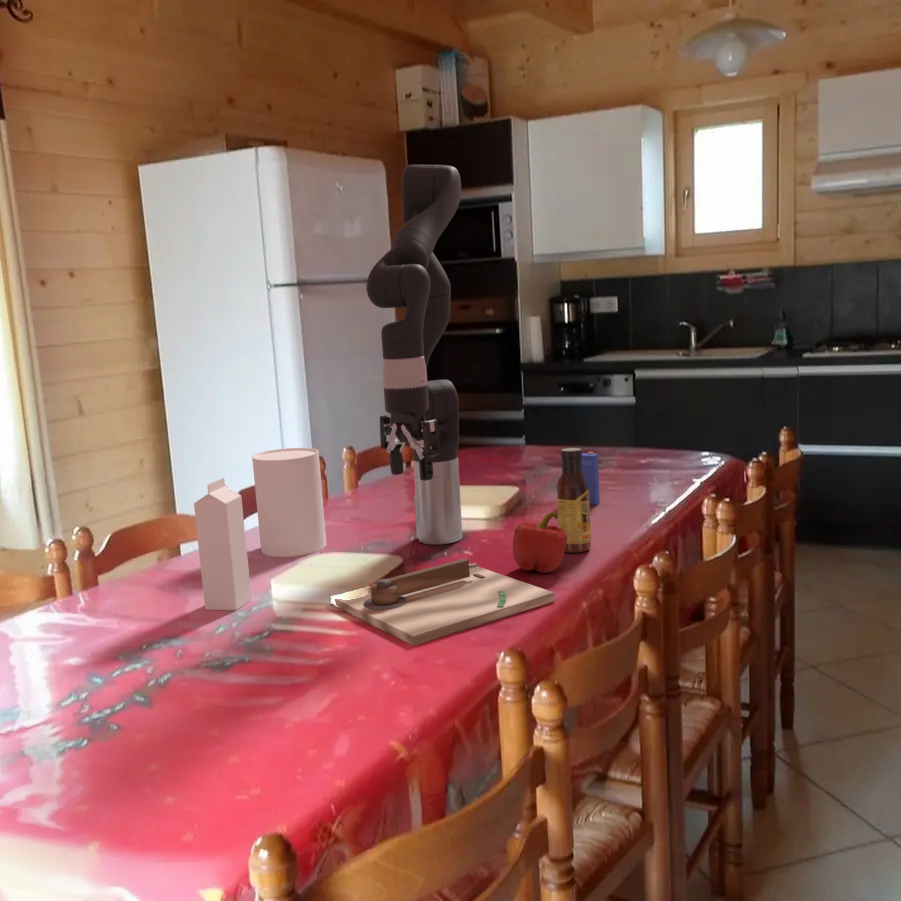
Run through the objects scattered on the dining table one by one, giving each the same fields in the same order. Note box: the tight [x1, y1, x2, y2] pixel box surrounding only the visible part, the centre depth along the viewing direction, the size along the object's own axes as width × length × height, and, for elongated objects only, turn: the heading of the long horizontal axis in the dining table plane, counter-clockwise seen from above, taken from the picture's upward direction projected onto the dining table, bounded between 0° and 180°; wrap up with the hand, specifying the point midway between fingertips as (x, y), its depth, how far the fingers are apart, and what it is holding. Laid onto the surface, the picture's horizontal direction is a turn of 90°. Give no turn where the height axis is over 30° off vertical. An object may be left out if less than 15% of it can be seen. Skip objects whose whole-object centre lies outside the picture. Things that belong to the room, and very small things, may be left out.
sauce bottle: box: [556, 447, 592, 554], centre depth 189 cm, size 6×6×20 cm
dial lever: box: [370, 558, 478, 604], centre depth 165 cm, size 4×21×3 cm, turn 125°
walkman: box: [581, 451, 601, 506], centre depth 226 cm, size 8×3×12 cm, turn 63°
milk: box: [193, 477, 252, 611], centre depth 168 cm, size 6×6×22 cm
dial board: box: [335, 563, 555, 646], centre depth 164 cm, size 26×28×2 cm
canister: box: [251, 447, 327, 558], centre depth 202 cm, size 14×14×20 cm
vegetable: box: [512, 511, 567, 574], centre depth 178 cm, size 11×10×10 cm
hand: (411, 476), depth 169 cm, fingers open, 8 cm apart
